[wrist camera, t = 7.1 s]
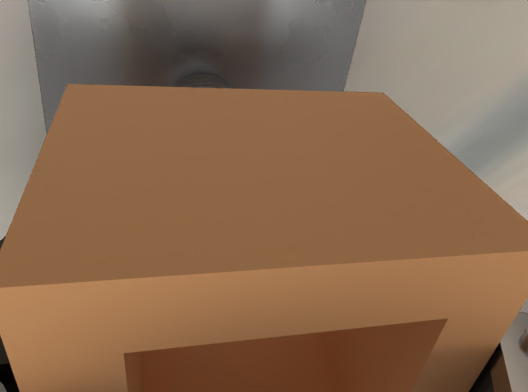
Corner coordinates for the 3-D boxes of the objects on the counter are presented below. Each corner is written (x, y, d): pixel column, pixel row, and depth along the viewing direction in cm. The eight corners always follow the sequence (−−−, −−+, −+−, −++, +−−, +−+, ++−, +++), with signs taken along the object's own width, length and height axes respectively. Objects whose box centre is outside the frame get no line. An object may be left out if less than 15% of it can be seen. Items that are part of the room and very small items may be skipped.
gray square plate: (356, -43, 15) (433, -16, 11) (301, 201, 20) (338, 279, 16) (28, -91, 12) (-30, -79, 8) (65, 202, 18) (41, 295, 14)
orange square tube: (383, 92, 9) (558, 248, 5) (328, 297, 13) (409, 485, 9) (67, 83, 8) (-16, 289, 4) (100, 317, 11) (74, 553, 7)
